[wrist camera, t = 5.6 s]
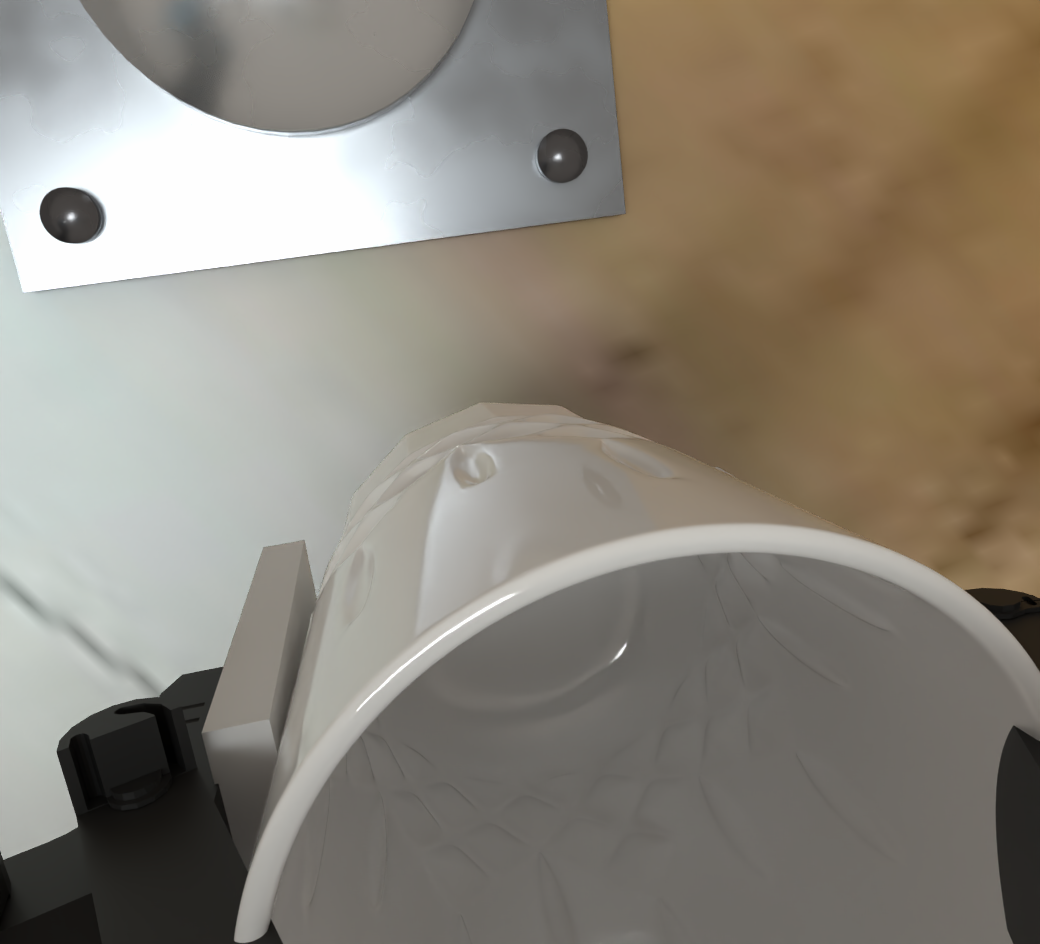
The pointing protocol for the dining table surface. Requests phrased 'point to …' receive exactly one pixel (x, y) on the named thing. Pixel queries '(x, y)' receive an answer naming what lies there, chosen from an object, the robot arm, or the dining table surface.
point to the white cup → (629, 712)
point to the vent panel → (293, 128)
